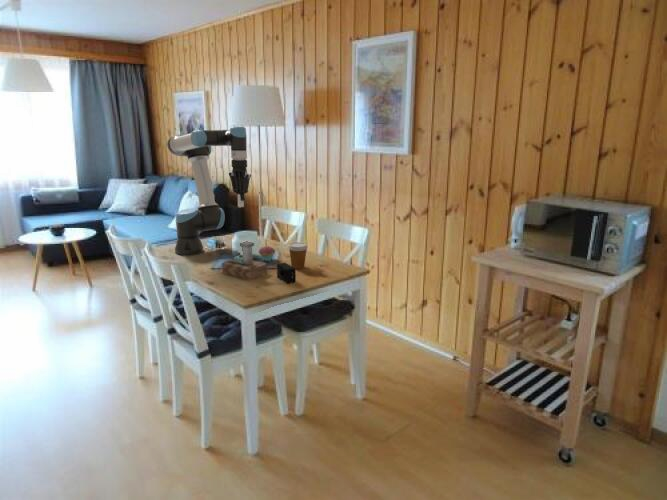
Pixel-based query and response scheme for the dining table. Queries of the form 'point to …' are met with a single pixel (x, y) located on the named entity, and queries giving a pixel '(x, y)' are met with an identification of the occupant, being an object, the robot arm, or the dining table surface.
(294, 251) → the disposable coffee cup
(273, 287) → the dining table surface
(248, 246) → the grey stone pillar
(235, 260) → the keeper
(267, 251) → the cupcake
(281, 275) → the digital camera
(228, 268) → the hitch block
